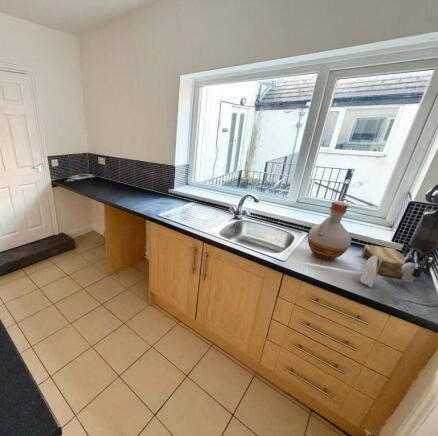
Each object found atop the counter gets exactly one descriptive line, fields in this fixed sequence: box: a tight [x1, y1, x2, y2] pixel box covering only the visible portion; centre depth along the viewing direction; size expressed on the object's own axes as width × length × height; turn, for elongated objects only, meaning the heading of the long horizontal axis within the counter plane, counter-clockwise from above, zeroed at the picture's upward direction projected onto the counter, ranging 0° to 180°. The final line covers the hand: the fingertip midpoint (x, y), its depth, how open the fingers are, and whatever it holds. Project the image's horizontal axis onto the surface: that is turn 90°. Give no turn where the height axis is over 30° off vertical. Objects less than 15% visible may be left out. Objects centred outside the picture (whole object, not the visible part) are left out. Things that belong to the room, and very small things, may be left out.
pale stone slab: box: [359, 256, 379, 288], centre depth 107 cm, size 12×4×11 cm, turn 139°
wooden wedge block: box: [361, 244, 405, 279], centre depth 119 cm, size 12×18×7 cm, turn 159°
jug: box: [307, 201, 352, 261], centre depth 122 cm, size 20×18×30 cm
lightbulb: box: [401, 262, 424, 287], centre depth 103 cm, size 6×6×11 cm
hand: (410, 272), depth 103 cm, fingers closed on lightbulb, 6 cm apart
